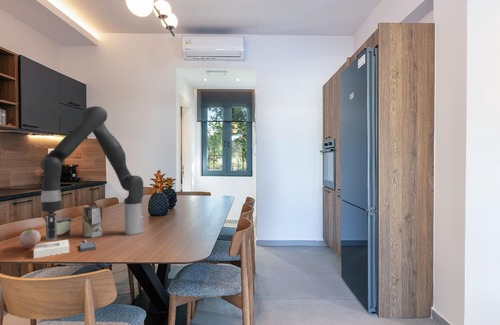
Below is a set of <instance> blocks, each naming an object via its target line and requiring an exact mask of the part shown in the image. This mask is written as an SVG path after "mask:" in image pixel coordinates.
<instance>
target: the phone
mask: <svg viewBox="0 0 500 325" xmlns="http://www.w3.org/2000/svg"><path fill="white" fill-rule="evenodd" d="M83 241H84V242H79V244H78V245H79V249H80V252H82V253H84V252H87V251H88V252H89V251H93V250H96V248H97V246H96V245H95V242H94V241H87V239H84V240H83Z"/></svg>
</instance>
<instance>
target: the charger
mask: <svg viewBox="0 0 500 325" xmlns="http://www.w3.org/2000/svg"><path fill="white" fill-rule="evenodd" d="M50 227H54V225H50ZM52 239H56V240H58V239H57V222H56V224H55V237H54V238H49V230H48V225H47V222H46V223H45V240H46V241H53V240H52Z"/></svg>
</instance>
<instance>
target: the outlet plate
mask: <svg viewBox="0 0 500 325" xmlns="http://www.w3.org/2000/svg"><path fill="white" fill-rule="evenodd" d="M62 253H63V254H68V253H70V241H69V239H63V240H55V241H49V242H48V241H47V242H42V243H37V244H35V246H34V249H33V259H38V258H39V259H40V258H43V257H49V256H50V255H51V256H57V255H63V254H62ZM56 254H57V255H56Z"/></svg>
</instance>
